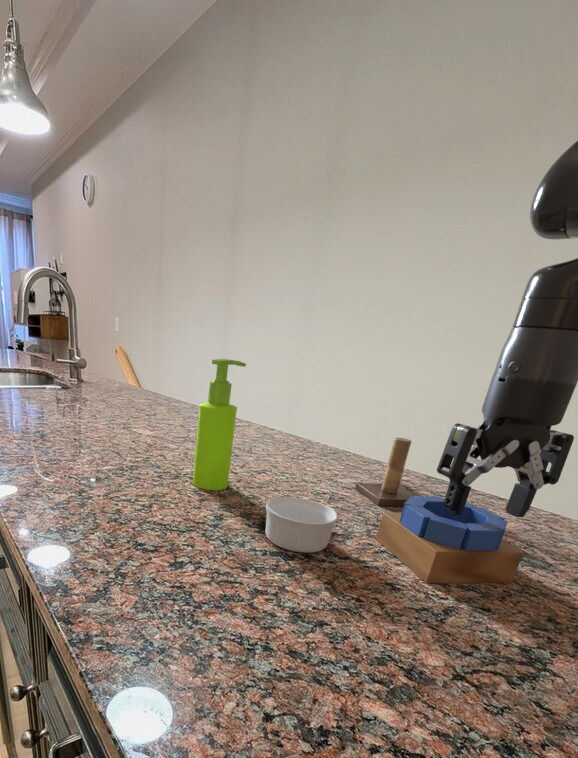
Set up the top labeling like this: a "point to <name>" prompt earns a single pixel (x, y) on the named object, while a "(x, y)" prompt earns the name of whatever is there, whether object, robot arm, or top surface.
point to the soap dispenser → (215, 432)
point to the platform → (446, 556)
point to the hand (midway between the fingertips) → (483, 513)
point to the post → (390, 479)
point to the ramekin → (299, 524)
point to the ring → (453, 524)
